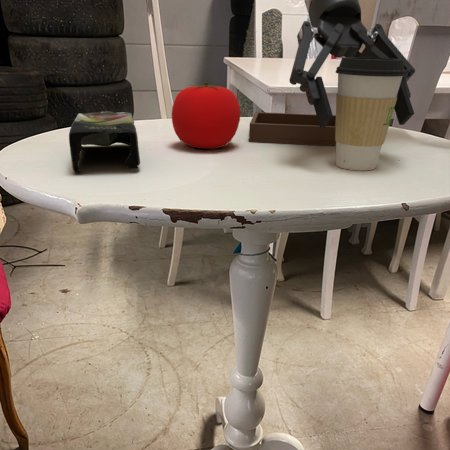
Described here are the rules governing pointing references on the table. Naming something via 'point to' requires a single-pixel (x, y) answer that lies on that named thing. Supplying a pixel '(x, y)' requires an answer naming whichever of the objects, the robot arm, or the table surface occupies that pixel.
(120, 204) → the table surface
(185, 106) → the tomato
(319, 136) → the serving tray
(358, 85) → the coffee cup
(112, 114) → the black box
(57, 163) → the table surface
